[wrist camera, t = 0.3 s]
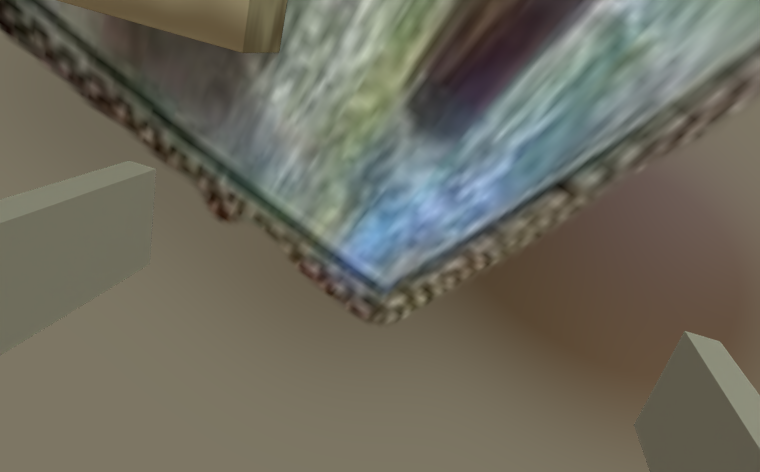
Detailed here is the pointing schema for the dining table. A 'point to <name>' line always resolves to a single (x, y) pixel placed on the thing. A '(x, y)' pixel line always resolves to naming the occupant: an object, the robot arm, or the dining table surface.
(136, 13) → the birch block
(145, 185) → the robot arm
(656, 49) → the dining table surface
